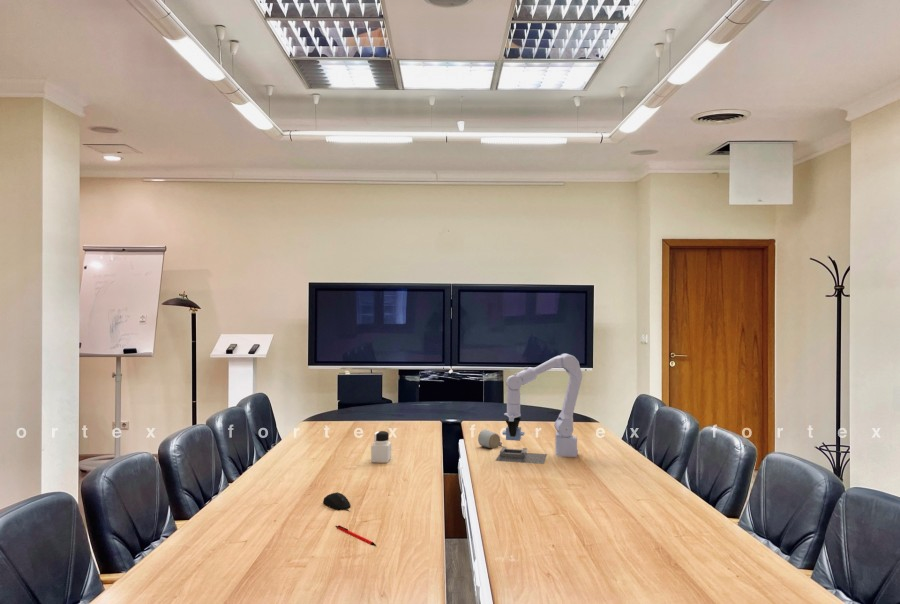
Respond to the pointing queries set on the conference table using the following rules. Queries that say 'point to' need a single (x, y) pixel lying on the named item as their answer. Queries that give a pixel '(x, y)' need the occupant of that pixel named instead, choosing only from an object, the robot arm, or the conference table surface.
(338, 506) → the gaming mouse
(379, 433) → the medicine bottle
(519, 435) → the servo
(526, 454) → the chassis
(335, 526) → the pen
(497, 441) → the ceramic mug
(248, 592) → the conference table surface
